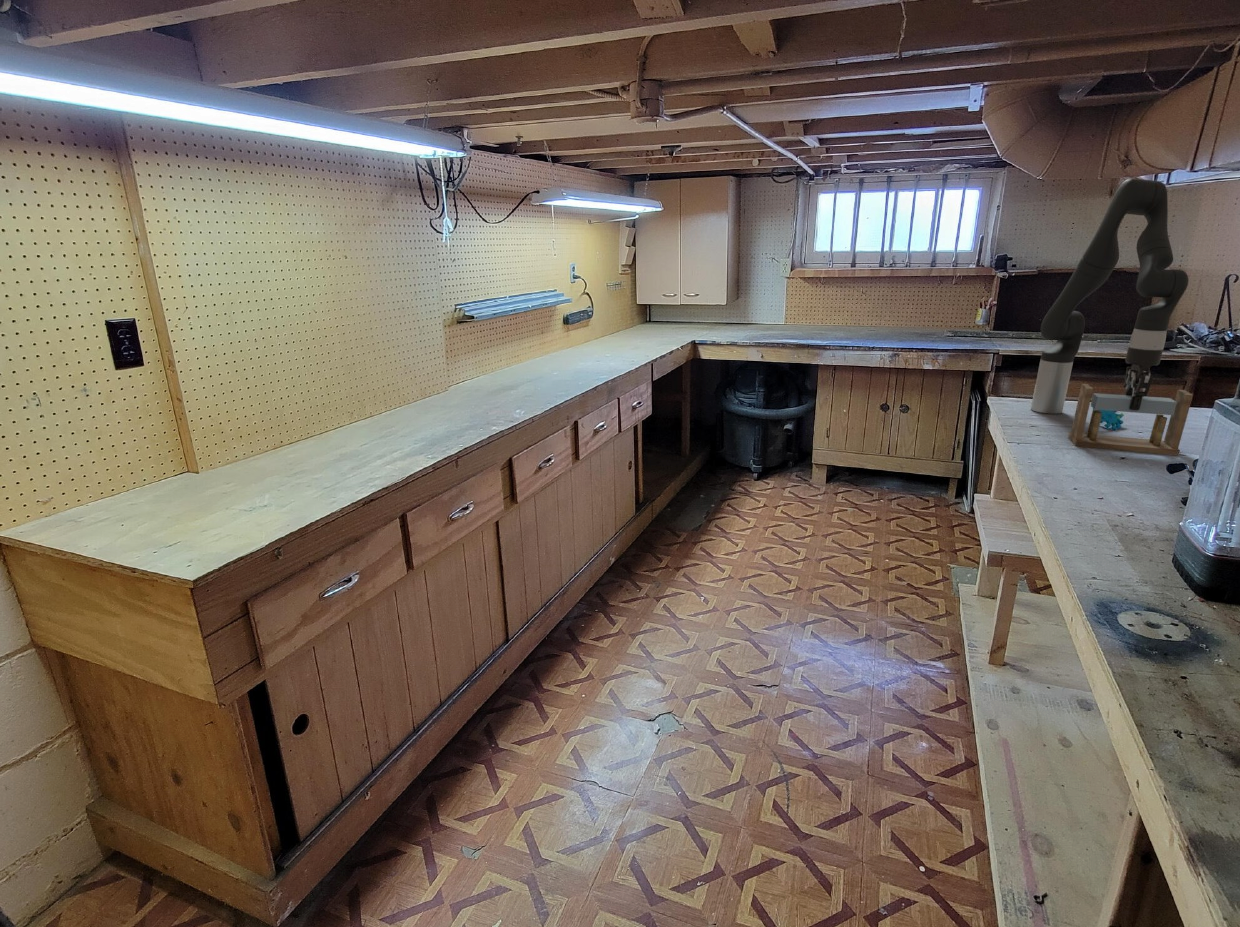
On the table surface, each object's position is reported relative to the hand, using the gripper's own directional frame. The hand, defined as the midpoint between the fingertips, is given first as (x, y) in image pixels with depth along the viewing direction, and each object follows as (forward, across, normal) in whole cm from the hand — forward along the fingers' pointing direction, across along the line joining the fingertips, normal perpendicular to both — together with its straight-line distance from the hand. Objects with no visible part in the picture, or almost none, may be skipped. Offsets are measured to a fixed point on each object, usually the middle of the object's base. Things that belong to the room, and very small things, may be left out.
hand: (1130, 407), depth 185 cm
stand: (+11, 0, 0) cm, 11 cm away
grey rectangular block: (+1, 0, 0) cm, 1 cm away
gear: (+12, +22, -2) cm, 25 cm away
